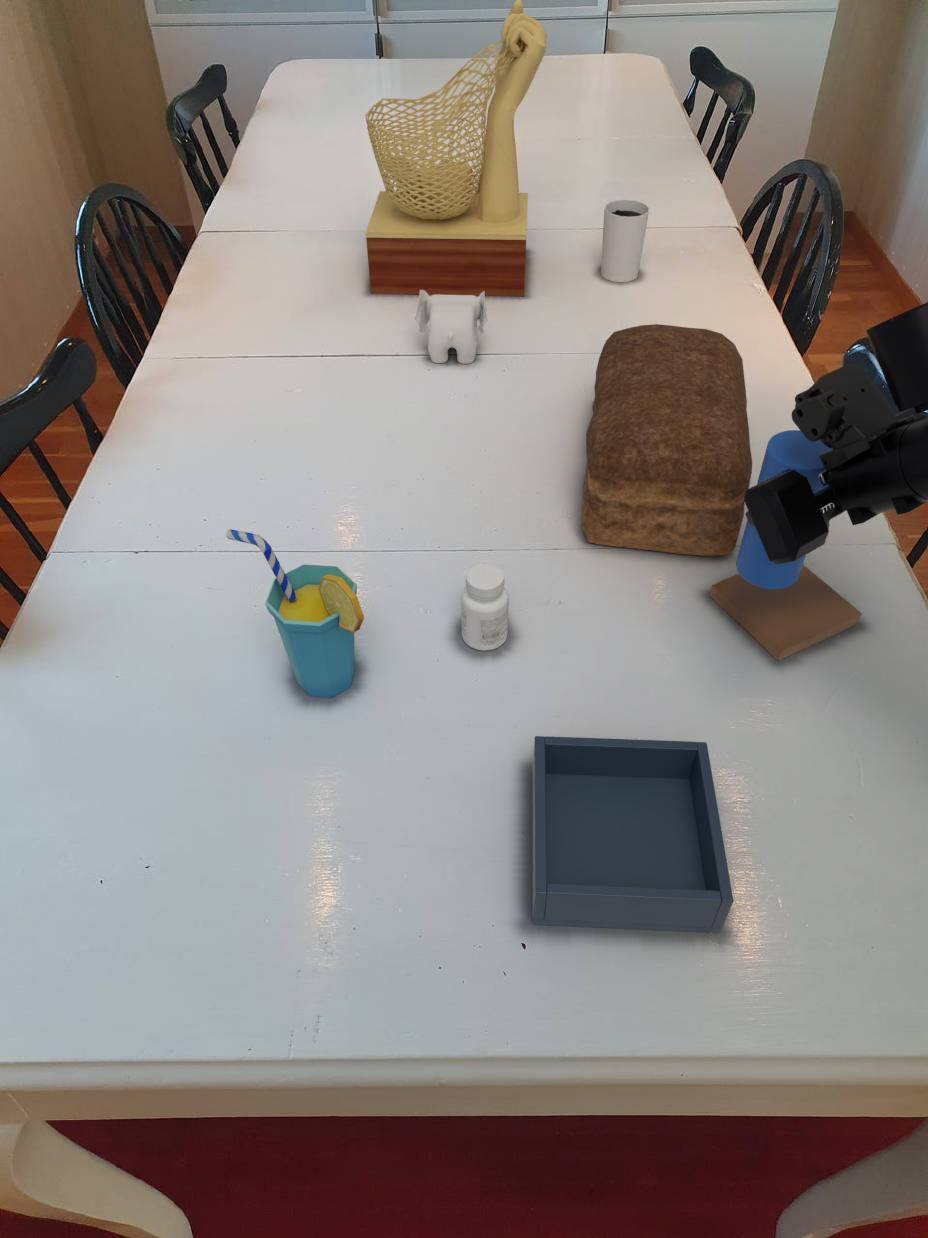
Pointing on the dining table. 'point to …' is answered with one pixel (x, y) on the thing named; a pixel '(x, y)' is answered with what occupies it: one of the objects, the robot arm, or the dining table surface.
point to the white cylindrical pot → (623, 239)
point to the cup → (313, 620)
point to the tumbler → (779, 457)
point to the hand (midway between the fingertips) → (772, 505)
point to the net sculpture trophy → (456, 182)
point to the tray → (627, 836)
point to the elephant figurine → (451, 324)
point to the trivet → (786, 612)
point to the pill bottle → (484, 608)
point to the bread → (667, 442)
